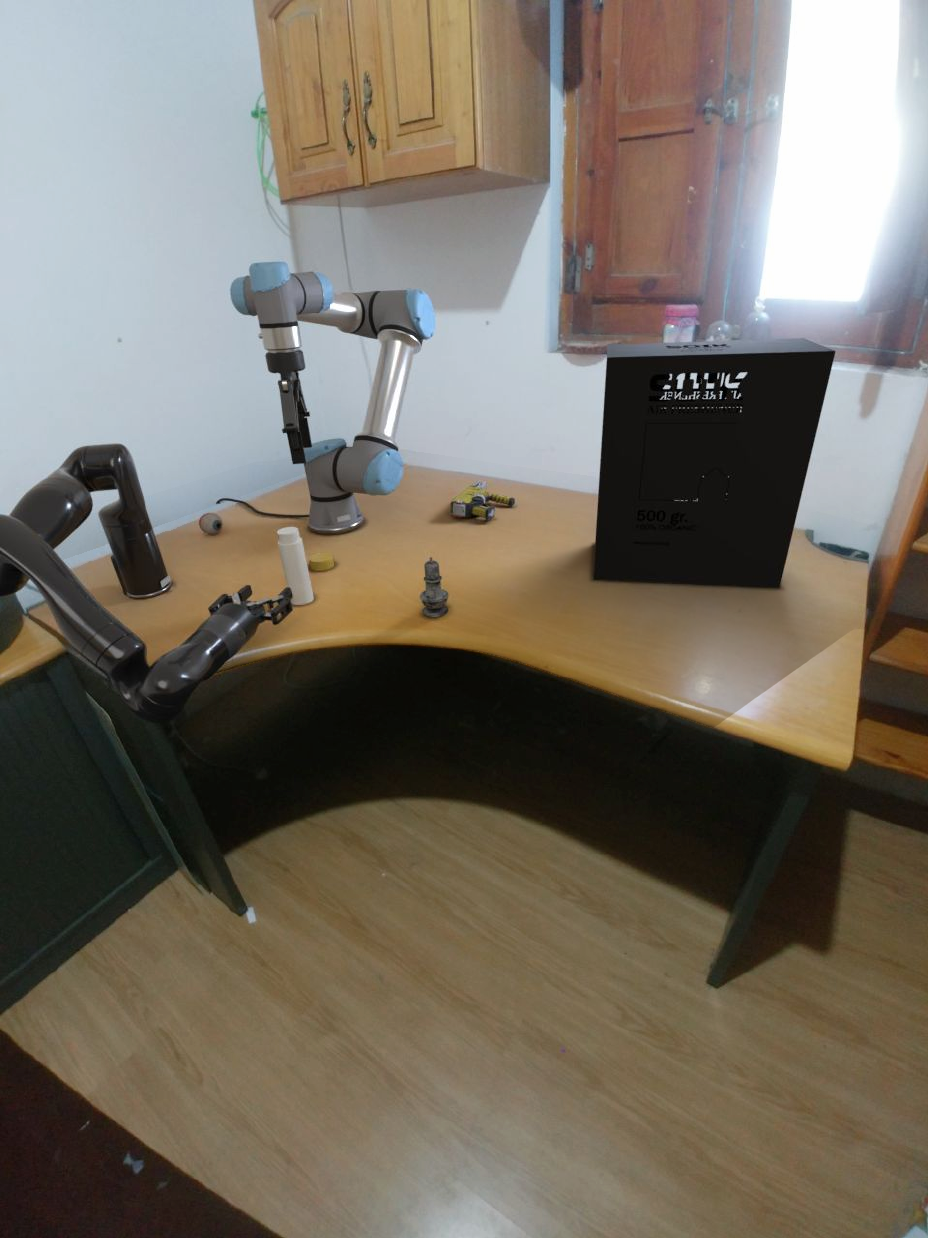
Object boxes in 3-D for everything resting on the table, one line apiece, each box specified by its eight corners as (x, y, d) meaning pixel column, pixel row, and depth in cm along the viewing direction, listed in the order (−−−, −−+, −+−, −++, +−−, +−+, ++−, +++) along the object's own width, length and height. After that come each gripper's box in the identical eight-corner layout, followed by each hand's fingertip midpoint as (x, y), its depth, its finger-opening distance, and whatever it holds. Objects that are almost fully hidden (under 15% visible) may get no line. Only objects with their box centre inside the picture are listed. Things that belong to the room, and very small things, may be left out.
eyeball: (212, 539, 164) (206, 518, 161) (197, 535, 167) (191, 515, 164) (230, 531, 169) (224, 511, 166) (215, 528, 172) (210, 508, 169)
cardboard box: (759, 548, 141) (803, 338, 119) (779, 587, 124) (835, 350, 102) (595, 543, 149) (607, 344, 126) (593, 579, 132) (607, 357, 109)
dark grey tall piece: (446, 618, 120) (442, 563, 114) (417, 616, 122) (412, 562, 116) (452, 604, 125) (448, 551, 119) (425, 602, 126) (420, 550, 120)
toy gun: (523, 485, 181) (476, 478, 185) (501, 509, 161) (448, 500, 165) (521, 500, 184) (475, 493, 187) (499, 525, 163) (447, 517, 167)
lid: (333, 570, 144) (331, 560, 142) (309, 572, 143) (307, 562, 142) (335, 560, 148) (334, 551, 147) (312, 562, 148) (310, 553, 147)
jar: (302, 592, 134) (288, 524, 126) (318, 597, 132) (304, 528, 124) (285, 602, 131) (270, 532, 123) (301, 607, 128) (286, 536, 120)
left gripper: (194, 648, 108) (241, 604, 121) (266, 655, 105) (306, 609, 118) (182, 612, 104) (232, 571, 117) (256, 617, 101) (299, 574, 114)
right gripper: (273, 345, 132) (292, 442, 143) (253, 358, 111) (277, 472, 122) (308, 342, 133) (324, 440, 144) (295, 355, 112) (315, 469, 122)
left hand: (269, 590), depth 118 cm, fingers open, 8 cm apart
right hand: (302, 455), depth 133 cm, fingers open, 13 cm apart
